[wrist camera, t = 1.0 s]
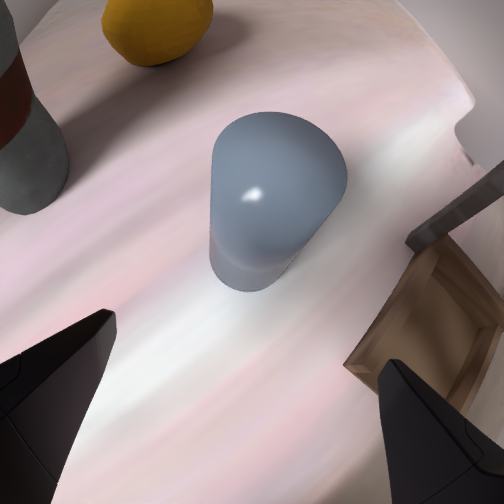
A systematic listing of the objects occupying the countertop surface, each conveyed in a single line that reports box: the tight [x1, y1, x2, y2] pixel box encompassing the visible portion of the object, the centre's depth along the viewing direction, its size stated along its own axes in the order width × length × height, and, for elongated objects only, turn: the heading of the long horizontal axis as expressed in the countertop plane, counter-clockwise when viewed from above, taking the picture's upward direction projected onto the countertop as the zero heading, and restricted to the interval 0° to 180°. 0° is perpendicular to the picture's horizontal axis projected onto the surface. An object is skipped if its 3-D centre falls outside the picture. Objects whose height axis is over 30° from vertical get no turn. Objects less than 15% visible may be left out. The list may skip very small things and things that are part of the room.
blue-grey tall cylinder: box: [209, 112, 347, 292], centre depth 19 cm, size 6×6×12 cm
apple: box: [101, 0, 213, 66], centre depth 26 cm, size 13×13×11 cm
